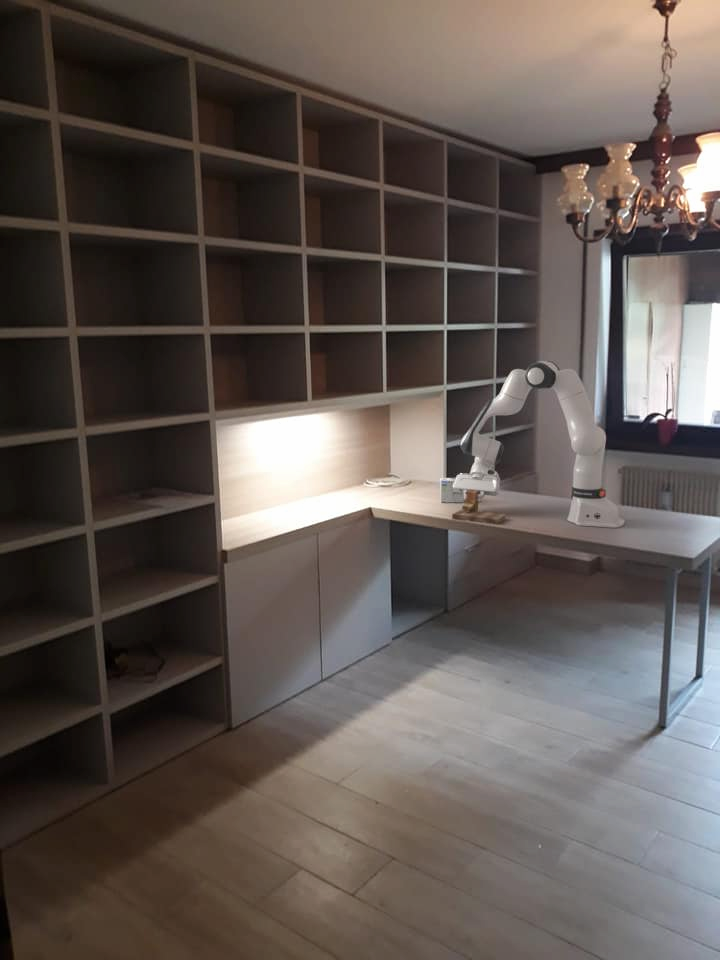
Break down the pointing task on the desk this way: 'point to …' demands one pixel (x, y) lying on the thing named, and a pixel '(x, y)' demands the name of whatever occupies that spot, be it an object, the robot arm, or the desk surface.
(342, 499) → the desk surface
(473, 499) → the brown l-shaped block
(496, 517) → the plank
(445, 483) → the light bulb box
